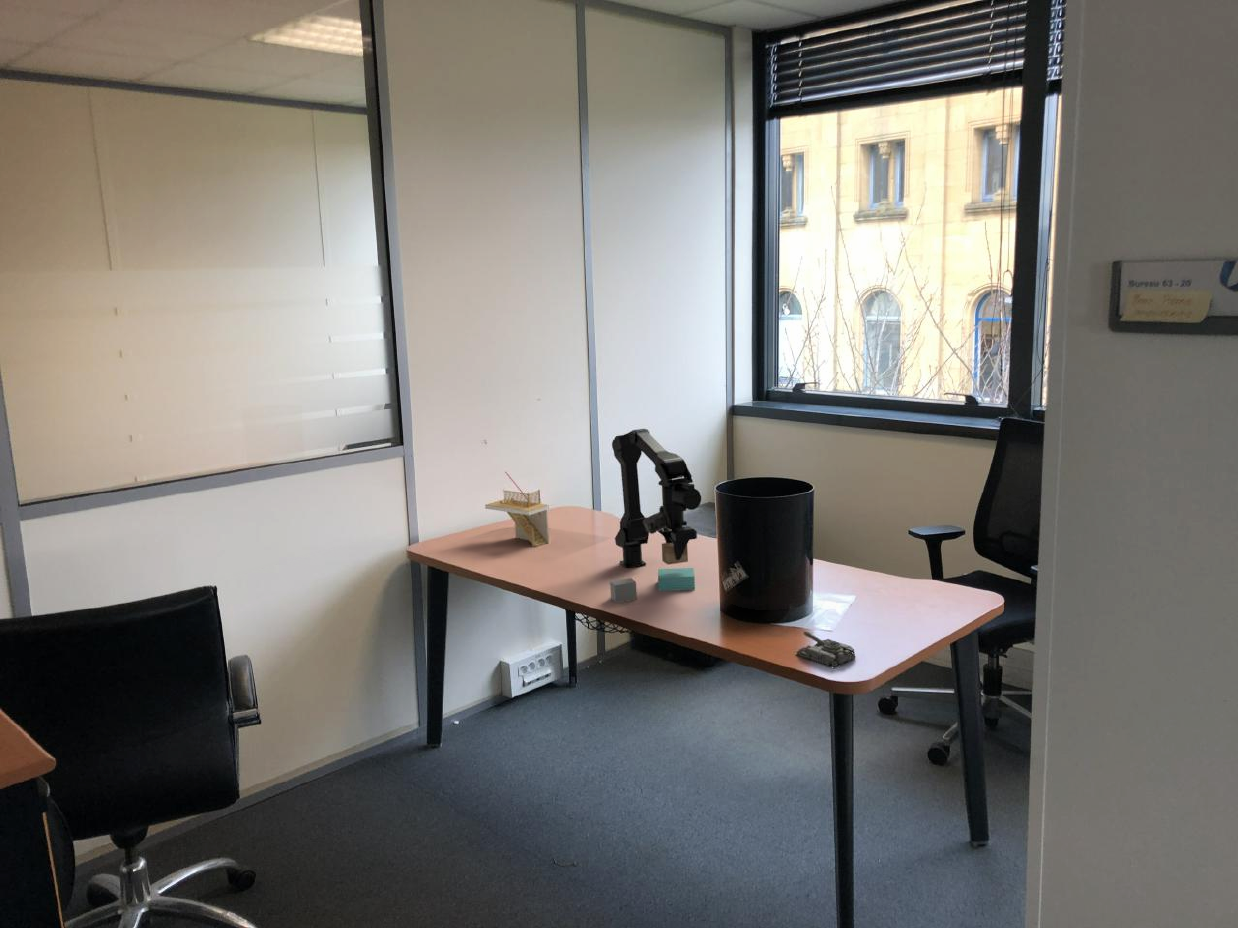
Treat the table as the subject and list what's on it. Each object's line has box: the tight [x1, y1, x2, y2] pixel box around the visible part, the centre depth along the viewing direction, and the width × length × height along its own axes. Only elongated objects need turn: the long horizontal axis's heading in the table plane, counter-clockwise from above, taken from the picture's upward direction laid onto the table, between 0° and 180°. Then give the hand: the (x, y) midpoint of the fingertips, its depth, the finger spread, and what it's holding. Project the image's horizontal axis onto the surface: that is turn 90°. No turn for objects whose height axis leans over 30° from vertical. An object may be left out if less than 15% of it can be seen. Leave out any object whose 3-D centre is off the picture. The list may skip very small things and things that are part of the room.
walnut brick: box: [661, 542, 689, 565], centre depth 267 cm, size 4×6×5 cm, turn 109°
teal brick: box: [657, 567, 696, 592], centre depth 269 cm, size 8×10×4 cm
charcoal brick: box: [609, 577, 638, 604], centre depth 260 cm, size 4×6×5 cm, turn 109°
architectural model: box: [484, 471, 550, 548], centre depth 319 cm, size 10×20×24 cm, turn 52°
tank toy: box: [795, 630, 857, 669], centre depth 214 cm, size 12×10×5 cm
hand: (675, 557), depth 268 cm, fingers closed on walnut brick, 4 cm apart
